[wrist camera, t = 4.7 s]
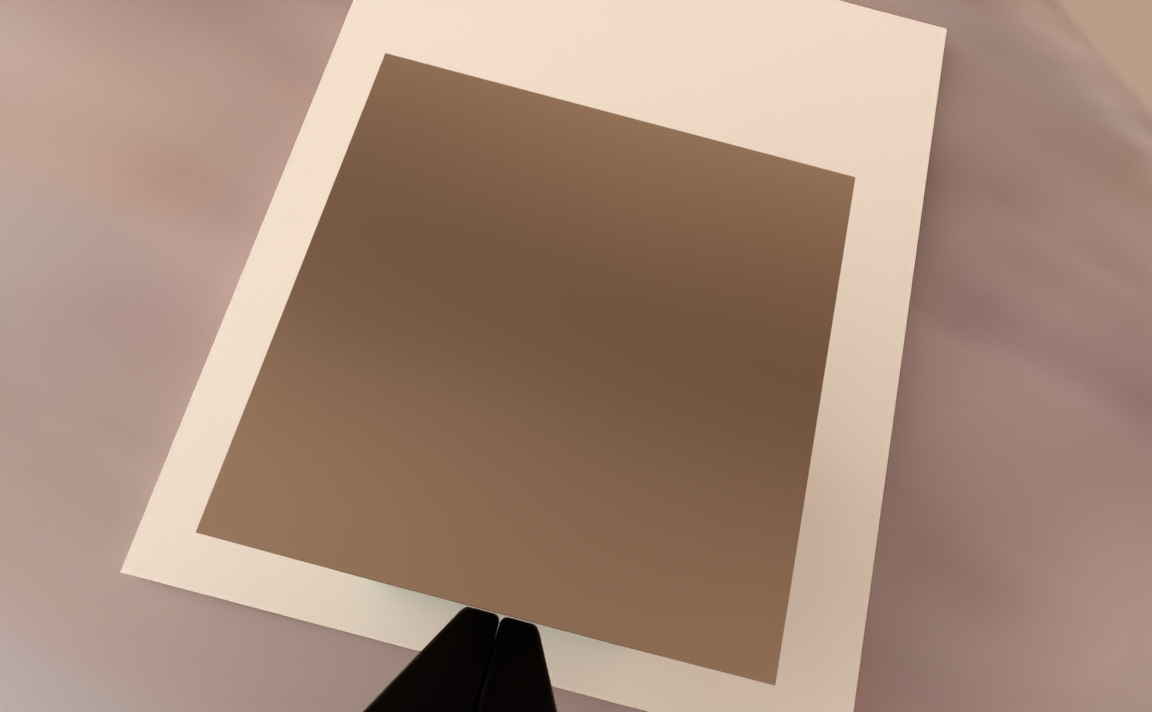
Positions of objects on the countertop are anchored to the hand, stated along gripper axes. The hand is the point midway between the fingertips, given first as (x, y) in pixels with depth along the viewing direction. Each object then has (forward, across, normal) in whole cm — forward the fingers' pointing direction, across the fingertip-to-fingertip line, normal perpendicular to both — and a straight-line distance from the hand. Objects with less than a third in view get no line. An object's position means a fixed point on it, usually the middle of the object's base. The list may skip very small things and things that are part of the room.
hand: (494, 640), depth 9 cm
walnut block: (+7, 0, +3) cm, 7 cm away
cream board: (+11, 0, 0) cm, 11 cm away
